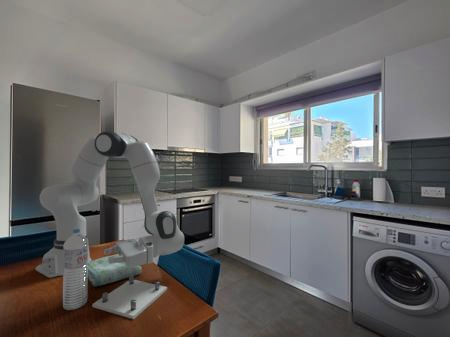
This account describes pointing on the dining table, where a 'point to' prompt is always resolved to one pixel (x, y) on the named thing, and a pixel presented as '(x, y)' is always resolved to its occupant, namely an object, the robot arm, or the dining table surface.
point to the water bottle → (75, 271)
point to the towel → (109, 271)
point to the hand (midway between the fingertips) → (106, 256)
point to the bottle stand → (130, 298)
